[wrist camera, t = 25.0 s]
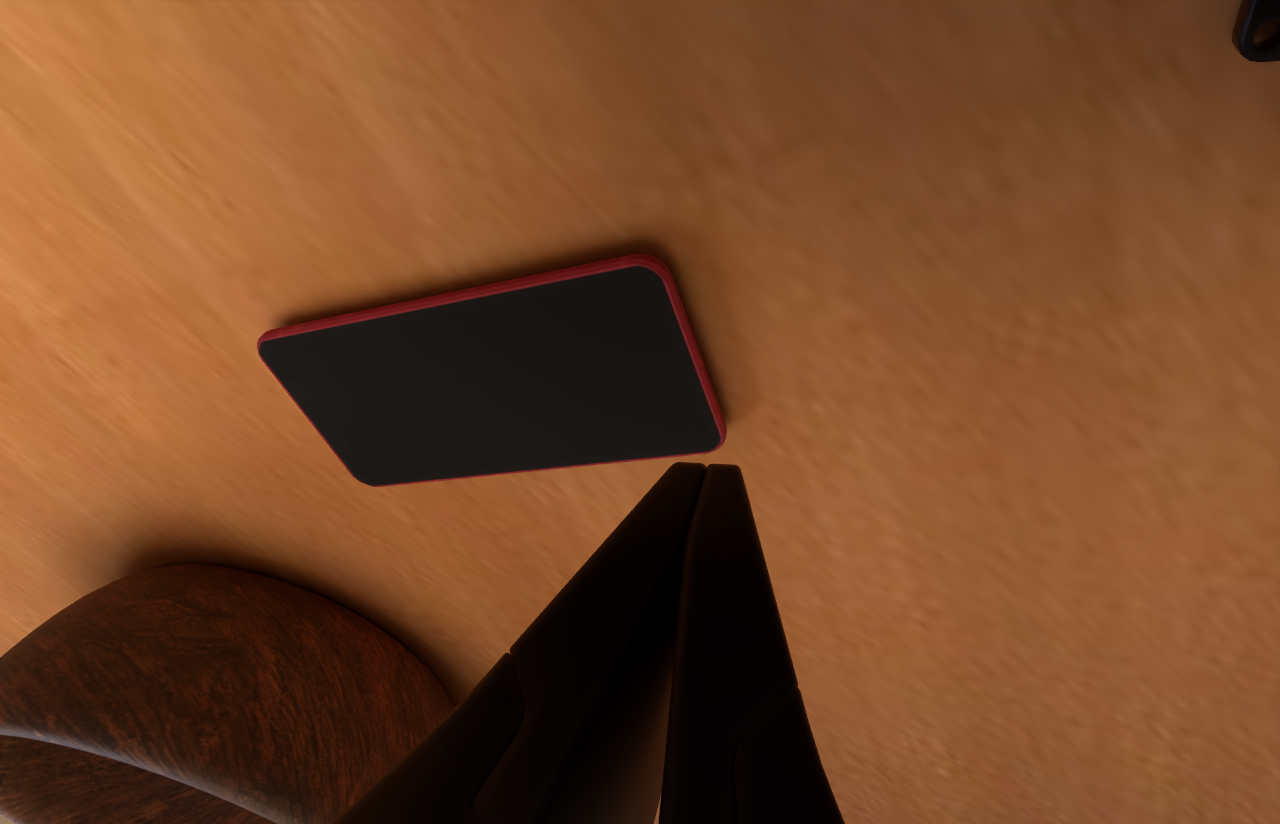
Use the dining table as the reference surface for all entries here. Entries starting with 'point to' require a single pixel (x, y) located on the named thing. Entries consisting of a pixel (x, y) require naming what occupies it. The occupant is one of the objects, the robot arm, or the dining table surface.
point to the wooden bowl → (205, 705)
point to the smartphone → (506, 377)
